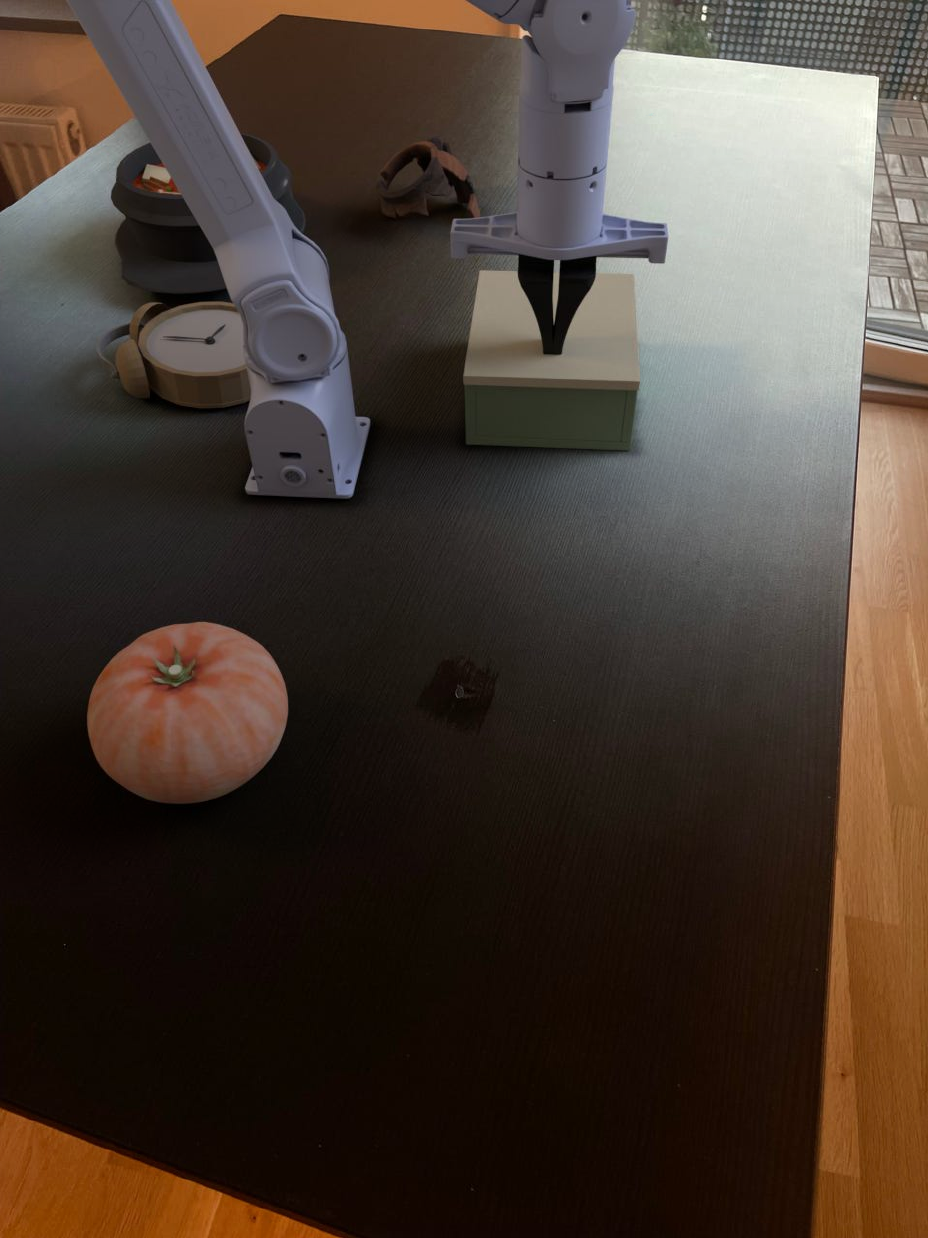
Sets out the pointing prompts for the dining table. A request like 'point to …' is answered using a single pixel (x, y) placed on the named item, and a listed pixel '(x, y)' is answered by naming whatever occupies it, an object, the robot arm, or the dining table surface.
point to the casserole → (178, 222)
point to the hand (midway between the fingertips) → (552, 347)
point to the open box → (549, 417)
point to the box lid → (591, 349)
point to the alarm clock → (182, 354)
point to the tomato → (187, 713)
